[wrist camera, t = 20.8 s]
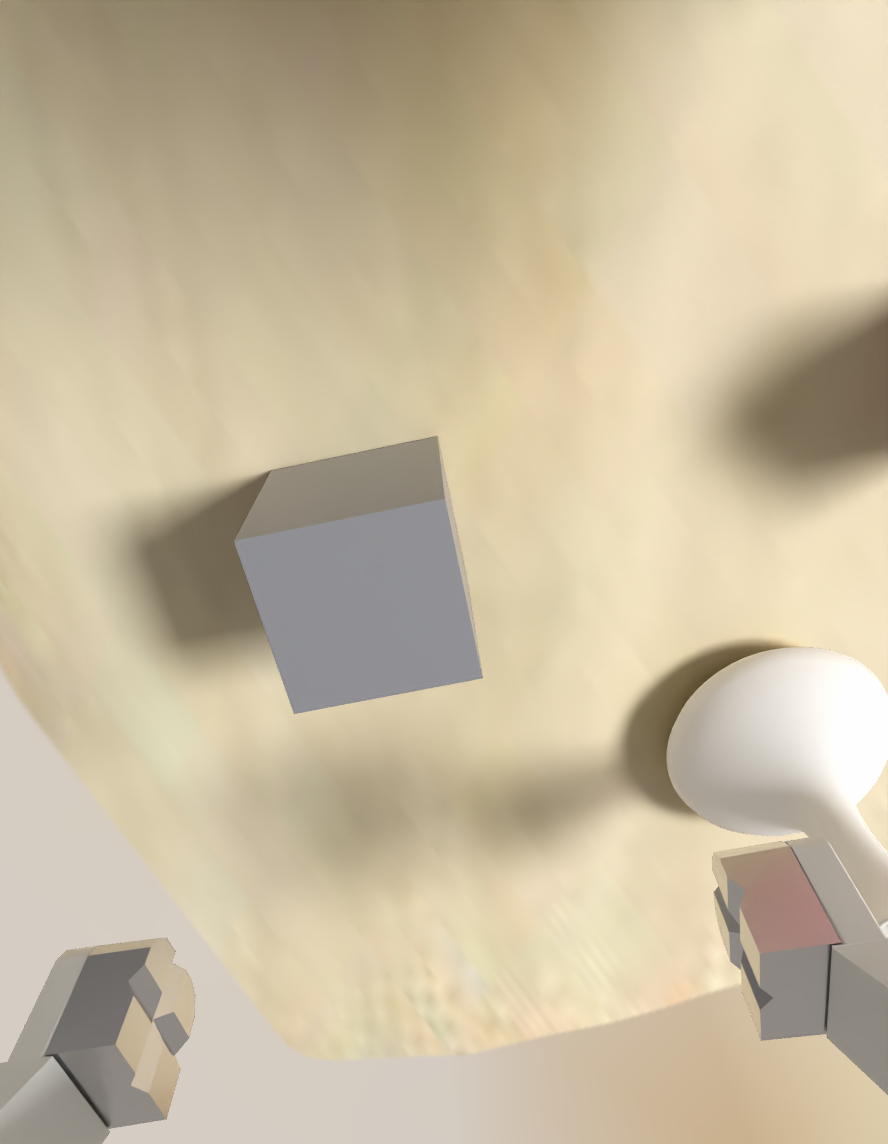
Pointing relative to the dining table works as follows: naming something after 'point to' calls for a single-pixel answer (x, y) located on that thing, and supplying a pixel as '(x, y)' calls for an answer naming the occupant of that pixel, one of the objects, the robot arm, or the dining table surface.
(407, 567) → the matte grey cube
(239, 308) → the dining table surface
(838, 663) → the flower in vase
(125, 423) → the dining table surface
